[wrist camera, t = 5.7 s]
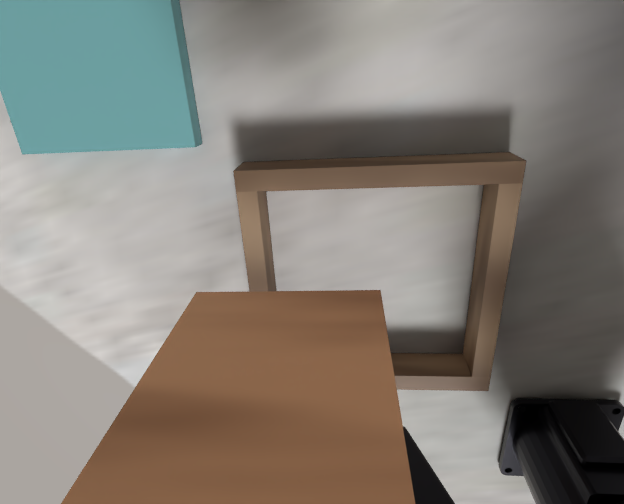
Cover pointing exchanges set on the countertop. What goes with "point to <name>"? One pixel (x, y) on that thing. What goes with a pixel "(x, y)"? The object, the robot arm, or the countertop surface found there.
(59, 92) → the plate
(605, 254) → the countertop surface
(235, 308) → the block
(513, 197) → the pocket frame
